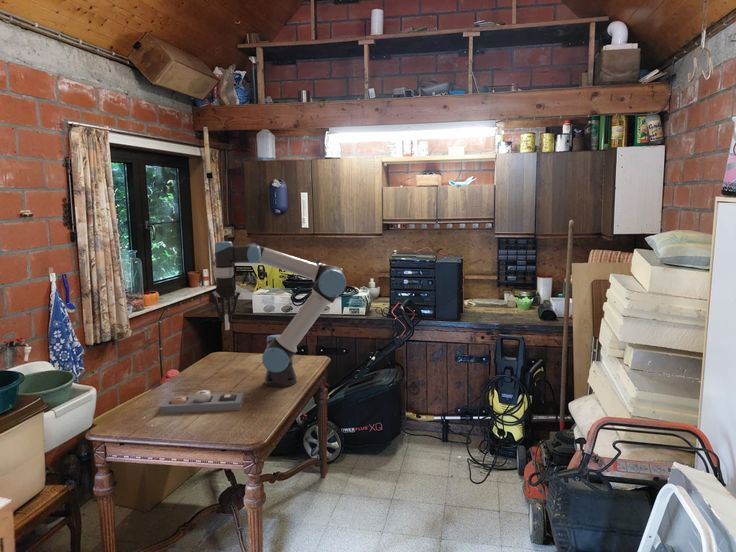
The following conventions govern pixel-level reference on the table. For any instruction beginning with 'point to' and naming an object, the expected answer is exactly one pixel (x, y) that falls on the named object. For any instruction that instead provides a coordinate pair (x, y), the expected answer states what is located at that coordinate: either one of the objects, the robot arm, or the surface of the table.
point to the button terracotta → (178, 400)
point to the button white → (203, 396)
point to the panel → (202, 404)
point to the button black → (227, 397)
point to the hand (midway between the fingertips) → (227, 329)
